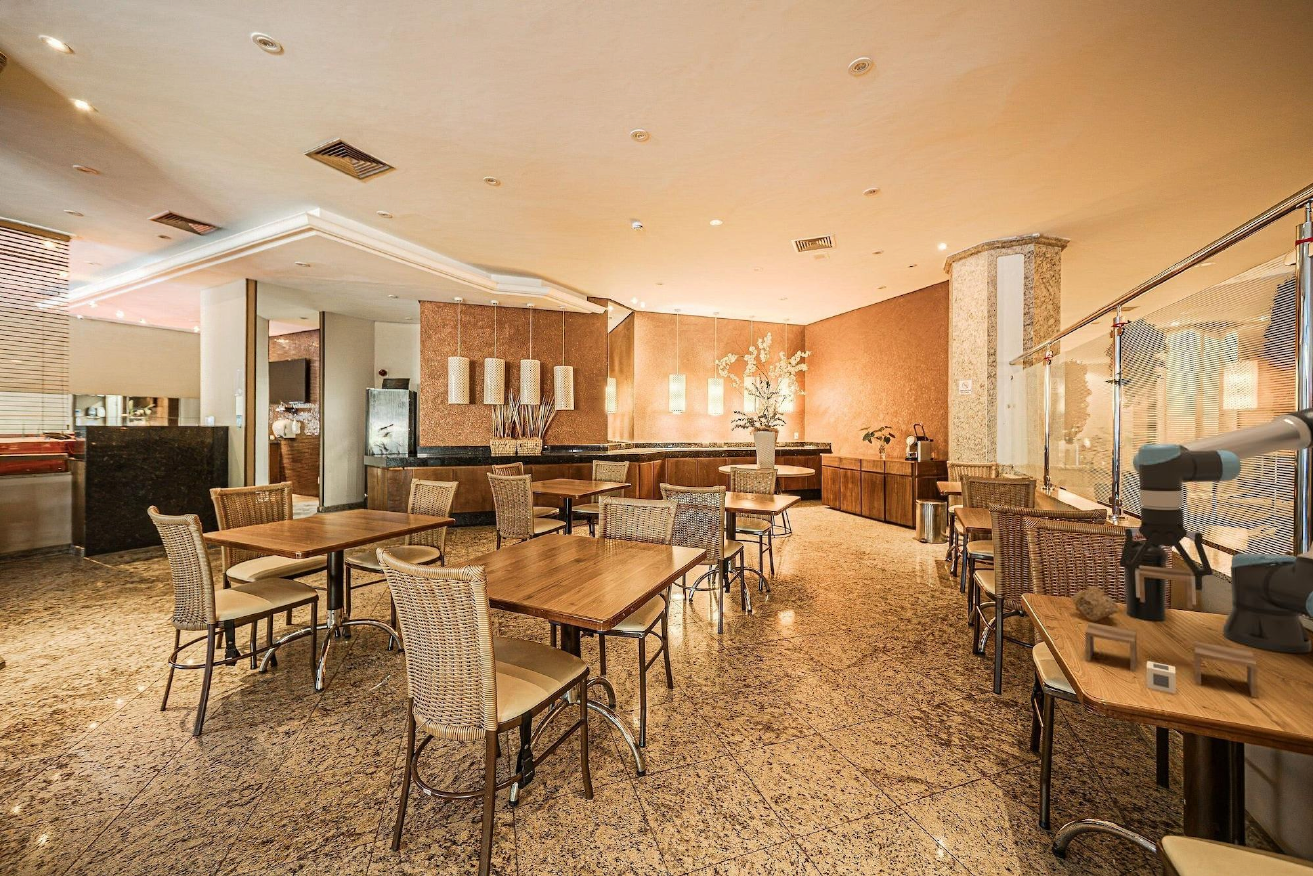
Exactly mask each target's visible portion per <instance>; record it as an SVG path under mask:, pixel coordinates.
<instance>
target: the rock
mask: <svg viewBox="0 0 1313 876" xmlns="http://www.w3.org/2000/svg"><path fill="white" fill-rule="evenodd" d="M1070 600H1071V601H1072V602H1073V604H1074V605H1075V611H1077V612H1079V613H1080V614H1081V615H1084V616H1085V617H1086V618H1087V619H1088V620H1090V621H1093V622H1095V621H1096V622H1097V621H1099V620H1100V619H1107V618H1109V617H1110V616H1113V614H1117V613H1118V612H1119V611H1118V608H1119V606H1118V604H1117V602H1115V601H1114V600H1113V598H1111V597H1109V595H1107V594H1106V593H1104V591H1103V590H1101V588H1099V587H1098V586H1094V585H1093V586H1092V585H1091V586H1090V587H1088V588H1087V589H1085V590H1084V589H1083V590H1079V591H1078V592H1076V593H1074V594H1073V595H1072V596H1071V597H1070Z"/></svg>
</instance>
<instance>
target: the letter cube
mask: <svg viewBox="0 0 1313 876" xmlns="http://www.w3.org/2000/svg"><path fill="white" fill-rule="evenodd" d="M1176 681H1177V680H1176V666H1173V665H1168V664H1163V663H1160V662H1155V661H1149V660H1147V662H1146V688H1147V689H1151V690H1156V691H1160V692H1164V693H1168V694H1174V695H1177V690H1176V689H1177V688H1176V686H1177V685H1176Z"/></svg>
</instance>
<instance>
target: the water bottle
mask: <svg viewBox="0 0 1313 876" xmlns="http://www.w3.org/2000/svg"><path fill="white" fill-rule="evenodd" d="M1145 541H1146V539H1145V540H1144V539H1143V540H1134V539H1133V540H1132V544H1131V547H1130V551H1129V555H1128V558H1127V562H1128V563H1131V562H1132V560H1133V559H1134V557H1135V556H1136V554H1137V553H1138V551H1139V550H1140V548H1141V547H1142V545H1143V544H1144V542H1145ZM1122 552H1123V548H1122V549H1121V553H1122ZM1168 560H1169V554H1168V552H1166V550H1165V548H1163V547H1161V545H1160V546H1156V545H1153V544H1152V546H1151V547H1150V548H1149V550H1148V551H1147V553H1146V554H1145V556H1144V557H1143V558H1142V560H1141V561H1140V563H1139V564H1138V566H1137V567H1136V569H1139V566H1149V567H1160V568H1167V562H1168ZM1123 568H1124V570H1123V571H1124V585H1125V586H1124V587H1125V603H1126V615H1127V616H1129V617H1131V618H1133V619H1137V620H1141V621H1147V622H1156V623H1157V622H1165V621H1166V600H1167V598H1166V597H1167V596H1166V595H1167V579H1159V578H1149V577H1144V586H1145V602H1140V598H1139V597H1136V583H1131V582H1130V580H1129V569H1127V568H1125V567H1123Z"/></svg>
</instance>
